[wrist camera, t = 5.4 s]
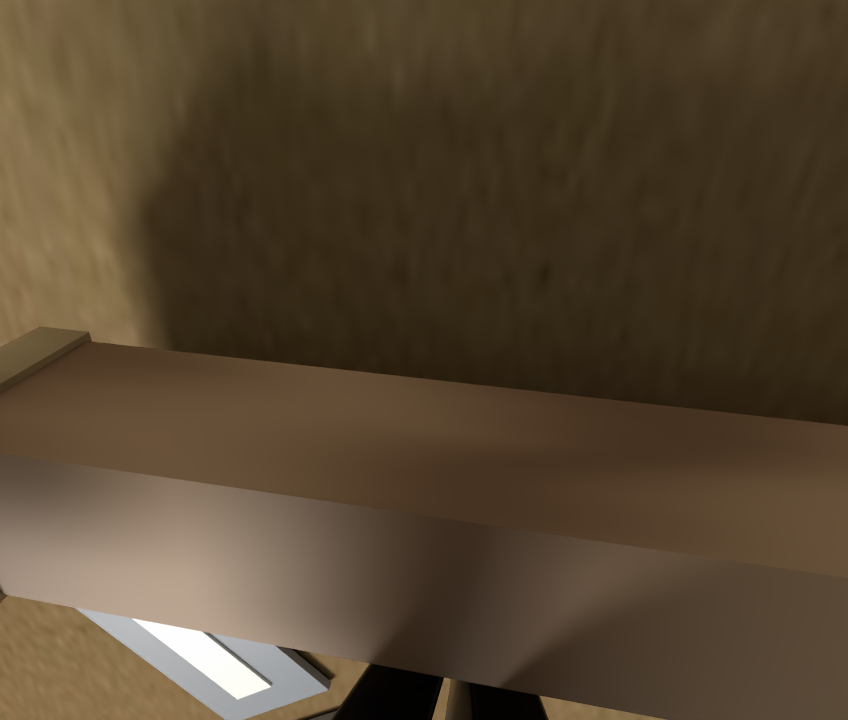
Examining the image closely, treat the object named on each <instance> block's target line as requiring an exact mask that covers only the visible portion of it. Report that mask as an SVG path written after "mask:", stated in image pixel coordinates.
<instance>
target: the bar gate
mask: <svg viewBox="0 0 848 720" xmlns="http://www.w3.org/2000/svg"><path fill="white" fill-rule="evenodd" d="M7 595H11V596H16V597H21V598H27V599H32V600H37V601H42V602H48V603H53V604H58V605H64V606H69V607H74V608H80V609H85V610H90V611H95V612H101V613H106V614H111V615H117V616H122V617H127V618H132V619H138V620H143V621H148V622H154V623H159V624H164V625H170V626H175V627H180V628H185V629H191V630H196V631H201V632H207V633H212V634H217V635H223V636H228V637H233V638H238V639H244V640H249V641H254V642H260V643H265V644H270V645H275V646H281V647H286V648H291V649H297V650H302V651H307V652H313V653H318V654H323V655H328V656H334V657H339V658H344V659H350V660H355V661H360V662H366V663H371V664H376V665H381V666H387V667H392V668H397V669H403V670H408V671H413V672H418V673H424V674H429V675H434V676H440V677H445V678H450V679H456V680H461V681H466V682H471V683H477V684H482V685H487V686H493V687H498V688H503V689H509V690H514V691H519V692H524V693H530V694H535V695H540V696H546V697H551V698H556V699H561V700H567V701H572V702H577V703H583V704H588V705H593V706H599V707H604V708H609V709H614V710H620V711H625V712H630V713H636V714H641V715H646V716H651V717H657V718H662V719H667V720H848V426H845V425H836V424H827V423H818V422H809V421H800V420H791V419H782V418H773V417H764V416H755V415H746V414H737V413H728V412H719V411H710V410H701V409H692V408H683V407H674V406H665V405H656V404H647V403H638V402H629V401H620V400H611V399H602V398H593V397H584V396H575V395H566V394H557V393H548V392H539V391H530V390H521V389H512V388H503V387H494V386H485V385H476V384H467V383H458V382H449V381H440V380H431V379H422V378H413V377H404V376H395V375H386V374H377V373H368V372H359V371H350V370H341V369H332V368H323V367H314V366H305V365H296V364H287V363H278V362H269V361H260V360H251V359H242V358H233V357H224V356H215V355H206V354H197V353H188V352H179V351H170V350H161V349H152V348H143V347H134V346H125V345H116V344H107V343H98V342H92V340H91V337H90V334H89V332H85V331H75V330H66V329H57V328H48V327H38V328H37V329H35V330H33V331H31V332H29V333H27V334H25V335H23V336H21V337H19V338H17V339H15V340H13V341H11V342H9V343H7V344H5V345H3V346H2V347H0V602H1V601H2V600H3V599H4V598H5V597H6V596H7Z"/></svg>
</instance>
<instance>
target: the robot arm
mask: <svg viewBox="0 0 848 720" xmlns="http://www.w3.org/2000/svg"><path fill="white" fill-rule="evenodd" d="M443 679H444V677H440V676H434V675H429V674H424V673H418V672H413V671H408V670H403V669H397V668H392V667H387V666H381V665H376V664H371V663H370V664H369V666H368V667H367V668H366V670H365V671H364V673H363V674H362V676H361V677H360V678H359V680H358V681H357V683H356V684H355V686H354V687H353V688H352V690H351V691H350V693H349V694H348V696H347V697H346V699H345V700H344V701H343V703H342V704H341V706H340V707H339V709H338V710H337V711H336V713H335V714H334V716H333V717H332V719H331V720H432V717H433V714H434V710H435V707H436V703H437V700H438V696H439V693H440V690H441V686H442V683H443ZM445 720H549V719H548V717H547V714H546V711H545V709H544V706H543V703H542V701H541V698H540V695H535V694H530V693H524V692H519V691H514V690H509V689H503V688H498V687H493V686H487V685H482V684H477V683H471V682H466V681H461V680H456V679H451V684H450V690H449V696H448V703H447V709H446V717H445Z"/></svg>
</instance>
